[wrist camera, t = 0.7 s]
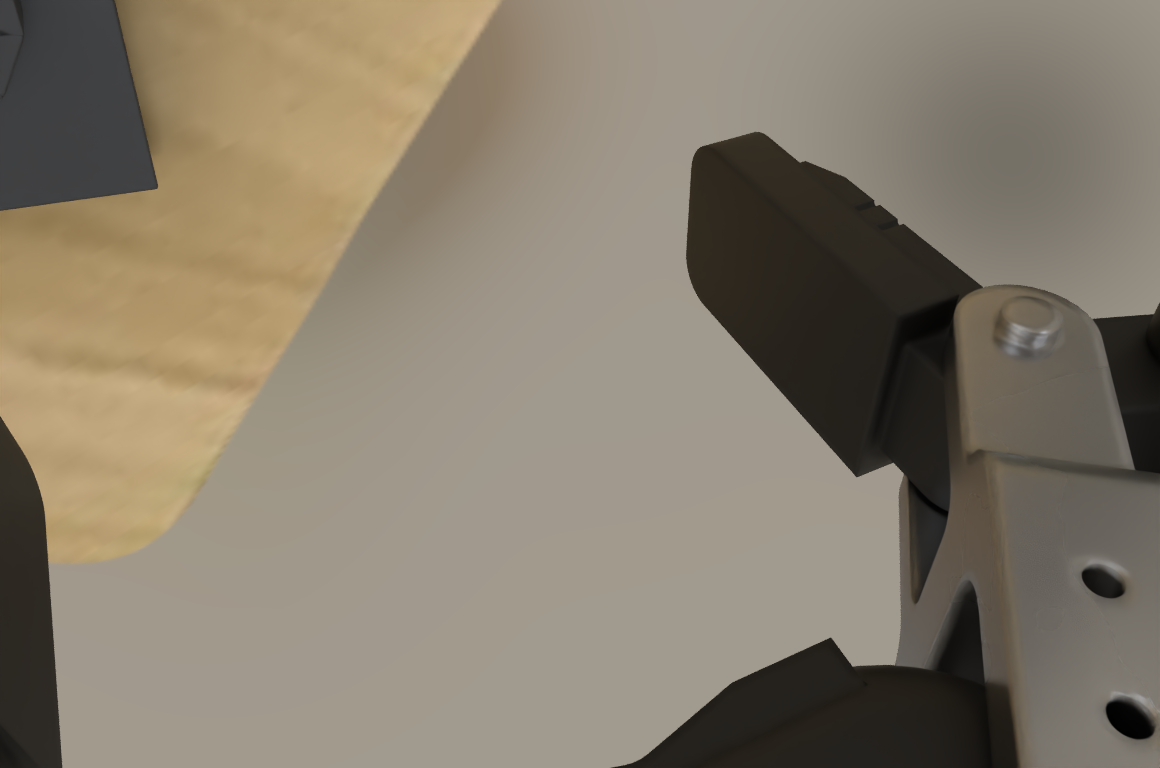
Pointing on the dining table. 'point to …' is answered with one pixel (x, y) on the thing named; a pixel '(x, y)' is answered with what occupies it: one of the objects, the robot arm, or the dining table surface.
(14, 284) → the dining table surface
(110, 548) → the dining table surface
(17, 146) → the red button base
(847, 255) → the robot arm
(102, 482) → the dining table surface
